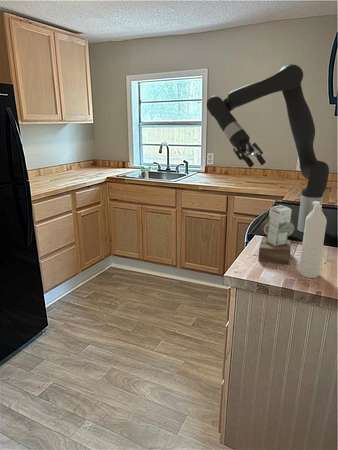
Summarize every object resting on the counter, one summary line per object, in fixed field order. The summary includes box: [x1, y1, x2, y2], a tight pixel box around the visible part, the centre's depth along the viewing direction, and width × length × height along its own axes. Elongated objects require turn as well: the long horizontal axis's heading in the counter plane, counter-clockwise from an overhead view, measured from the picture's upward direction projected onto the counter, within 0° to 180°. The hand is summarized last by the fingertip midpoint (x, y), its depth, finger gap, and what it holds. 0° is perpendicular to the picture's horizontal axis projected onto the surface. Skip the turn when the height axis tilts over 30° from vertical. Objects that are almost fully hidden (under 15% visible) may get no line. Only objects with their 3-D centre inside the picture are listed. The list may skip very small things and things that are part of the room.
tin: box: [260, 218, 297, 238], centre depth 147 cm, size 15×3×8 cm, turn 84°
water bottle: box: [298, 201, 328, 279], centre depth 111 cm, size 9×6×25 cm
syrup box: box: [265, 204, 293, 246], centre depth 123 cm, size 6×6×14 cm
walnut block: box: [257, 237, 291, 266], centre depth 126 cm, size 11×11×6 cm
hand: (258, 164), depth 133 cm, fingers open, 8 cm apart
